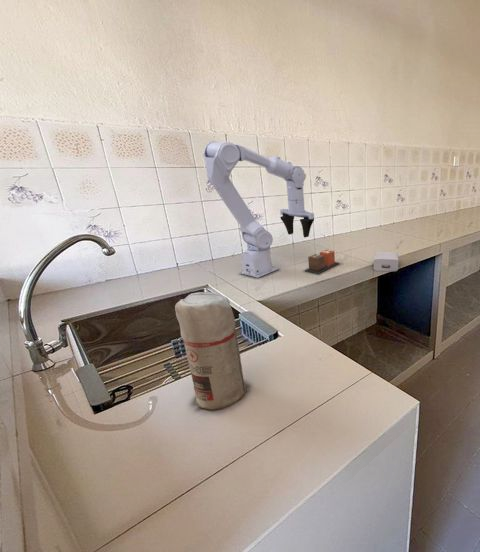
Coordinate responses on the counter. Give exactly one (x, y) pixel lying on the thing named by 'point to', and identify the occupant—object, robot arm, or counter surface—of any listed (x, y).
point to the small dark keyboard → (323, 269)
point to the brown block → (316, 262)
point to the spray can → (211, 349)
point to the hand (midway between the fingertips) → (298, 235)
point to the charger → (386, 261)
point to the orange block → (328, 257)
